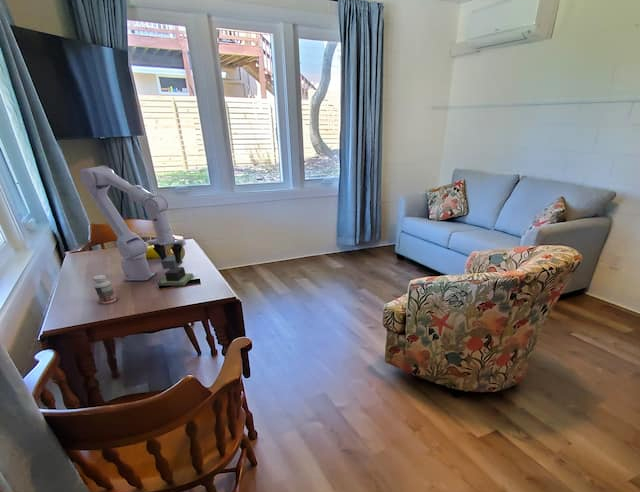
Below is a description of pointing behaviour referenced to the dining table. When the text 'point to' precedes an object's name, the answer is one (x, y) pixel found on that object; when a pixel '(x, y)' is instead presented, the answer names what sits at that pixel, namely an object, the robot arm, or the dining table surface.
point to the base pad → (177, 283)
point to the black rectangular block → (175, 274)
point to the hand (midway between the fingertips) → (172, 262)
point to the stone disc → (167, 251)
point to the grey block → (170, 262)
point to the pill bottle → (104, 289)
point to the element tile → (152, 252)
